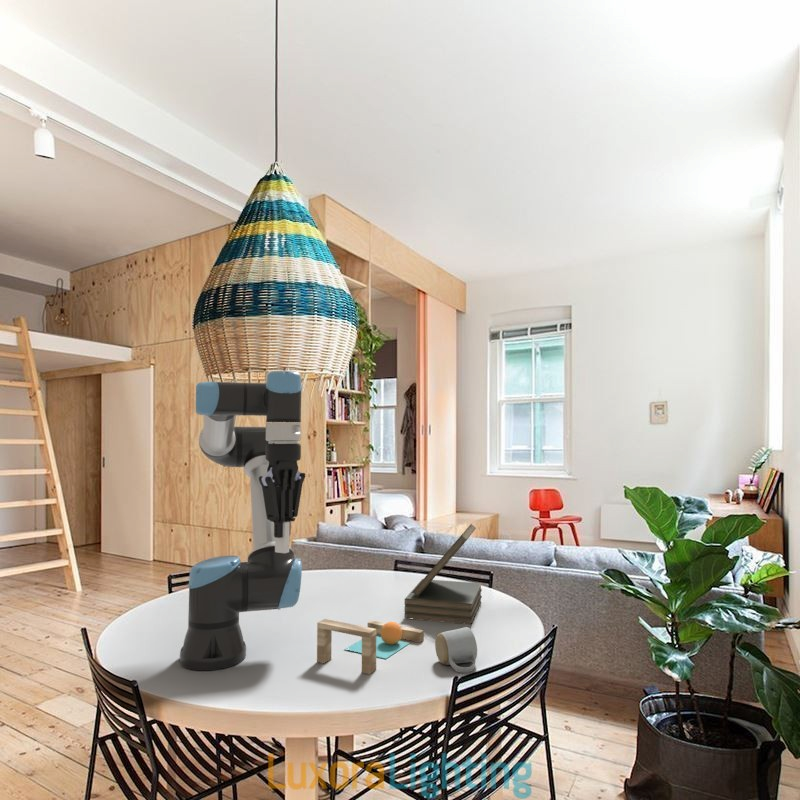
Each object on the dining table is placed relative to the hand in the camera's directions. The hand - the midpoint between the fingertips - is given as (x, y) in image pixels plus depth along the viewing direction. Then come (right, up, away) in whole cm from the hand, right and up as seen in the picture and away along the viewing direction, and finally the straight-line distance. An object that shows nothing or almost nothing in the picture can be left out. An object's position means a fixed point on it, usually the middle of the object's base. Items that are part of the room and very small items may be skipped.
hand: (282, 552), depth 131 cm
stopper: (+24, -30, +30) cm, 49 cm away
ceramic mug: (+39, -29, +11) cm, 50 cm away
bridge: (+13, -29, +10) cm, 33 cm away
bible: (+39, -31, +53) cm, 73 cm away
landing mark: (+20, -29, +22) cm, 42 cm away
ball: (+23, -27, +24) cm, 43 cm away
